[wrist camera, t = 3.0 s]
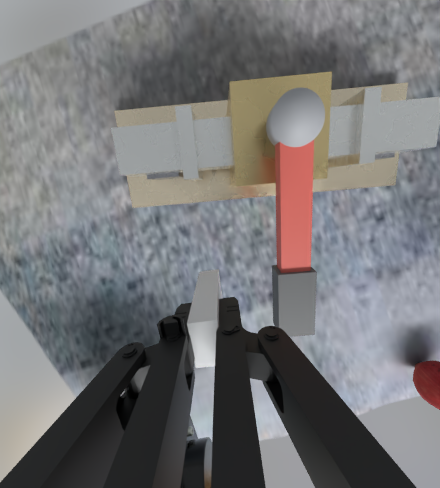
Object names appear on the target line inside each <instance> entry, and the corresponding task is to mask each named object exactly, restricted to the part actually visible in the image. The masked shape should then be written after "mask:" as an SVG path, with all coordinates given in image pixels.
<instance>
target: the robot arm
mask: <svg viewBox="0 0 440 488" xmlns="http://www.w3.org/2000/svg"><path fill="white" fill-rule="evenodd" d="M157 326H158V330H159V334H160V338H161V339H160V341H159V343H158V344H156V345H153V346H150V347H147V348H144V345H143V344H142V343H139V342H136V343H131V344H128V345H126V346H124V347H123V348H121V349H120V350H119V351H118V352H117V353H116V354H115V355H114V357H113V358H112V359H111V360H110V361H109V362H108V363H107V364H106V365H105V367H104V368H103V369H102V370H101V371H100V372H99V373H98V374H97V375H96V377H95V378H94V379H93V380H92V381H91V382H90V383H89V384H88V386H87V387H86V388H85V389H84V390H83V391H82V392H81V393H80V394H79V396H78V397H77V398H76V399H75V400H74V401H73V402H72V403H71V404H70V406H69V407H68V408H67V409H66V410H65V411H64V412H63V413H62V414H61V416H60V417H59V418H58V419H57V420H56V421H55V422H54V423H53V424H52V426H51V427H50V428H49V429H48V430H47V431H46V432H45V433H44V435H43V436H42V437H41V438H40V439H39V440H38V441H37V442H36V444H35V445H34V446H33V447H32V448H31V449H30V450H29V451H28V452H27V454H26V455H25V456H24V457H23V458H22V459H21V460H20V461H19V463H17V465H16V466H15V467H14V468H13V469H12V471H10V472H9V473H8V475H7V476H6V477H5V478H4V479H3V480H2V481H1V482H0V488H180V487H181V480H182V472H183V464H184V457H185V449H186V441H187V434H188V426H189V418H190V411H191V403H192V395H193V388H194V380H195V373H194V368H193V367H194V361H195V366H196V368H203V367H212V366H215V382H214V412H213V441H212V470H211V488H265V481H264V474H263V467H262V460H261V453H260V447H259V439H258V433H257V426H256V419H255V412H254V405H253V398H252V391H251V385H250V378H252V379H257V380H262V381H263V384H264V386H265V388H266V390H267V392H268V394H269V396H270V398H271V400H272V402H273V404H274V406H275V408H276V410H277V412H278V414H279V416H280V418H281V420H282V422H283V424H284V426H285V428H286V430H287V432H288V434H289V436H290V438H291V440H292V442H293V444H294V446H295V448H296V450H297V452H298V454H299V456H300V458H301V460H302V462H303V464H304V466H305V468H306V470H307V472H308V474H309V476H310V478H311V480H312V482H313V484H314V486H315V488H416V487H415V485H414V484H413V483H412V482H411V481H410V479H409V478H408V477H407V476H406V475H405V473H404V472H403V471H402V470H401V469H400V468H399V466H398V465H397V464H396V463H395V462H394V461H393V459H392V458H391V457H390V456H389V455H388V453H387V452H386V451H385V450H384V449H383V447H382V446H381V445H380V444H379V443H378V442H377V440H376V439H375V438H374V437H373V436H372V434H371V433H370V432H369V431H368V430H367V429H366V427H365V426H364V425H363V424H362V422H361V421H360V420H359V419H358V418H357V417H356V415H355V414H354V413H353V412H352V411H351V409H350V408H349V407H348V406H347V405H346V404H345V402H344V401H343V400H342V399H341V398H340V396H339V395H338V394H337V393H336V392H335V390H334V389H333V388H332V387H331V386H330V385H329V383H328V382H327V381H326V380H325V379H324V377H323V376H322V375H321V374H320V373H319V371H318V370H317V369H316V368H315V367H314V366H313V364H312V363H311V362H310V361H309V360H308V358H307V357H306V356H305V355H304V354H303V353H302V351H301V350H300V349H299V348H298V347H297V345H296V344H295V343H294V342H293V341H292V339H291V338H290V337H289V336H288V335H287V334H286V332H285V331H284V330H282V329H281V328H279V327H276V326H267V327H264V328H262V329H261V330H260V331H259V332H258V334H257V333H251V332H248V331H246V330H245V329H244V328H243V327H242V324H241V318H240V311H239V304H238V300H237V299H236V298H235V297H230V298H223V297H222V291H221V284H220V277H219V271H218V270H210V271H203V272H199V276H198V280H197V284H196V288H195V292H194V296H193V300H192V303H186V304H181V305H180V306H179V307H178V308H177V309H176V312H175V315H172V316H168V317H166V318H163V319H162V320H161V321H159V323H158V324H157ZM124 389H125V392H124V394H123V395H122V396H120V395H121V394H122V392H123V391H124Z"/></svg>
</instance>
